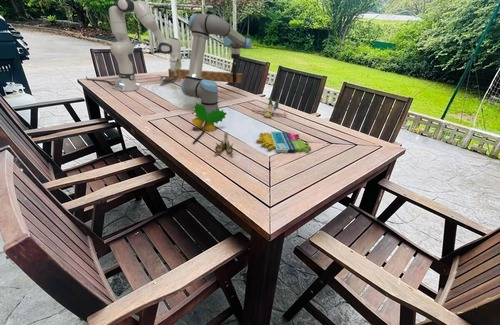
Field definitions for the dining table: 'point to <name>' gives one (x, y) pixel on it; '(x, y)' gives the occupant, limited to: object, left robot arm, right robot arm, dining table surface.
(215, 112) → the ornament
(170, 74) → the beam
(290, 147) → the sign
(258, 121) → the dining table surface
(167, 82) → the airplane
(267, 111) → the toy
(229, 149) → the jawbone
